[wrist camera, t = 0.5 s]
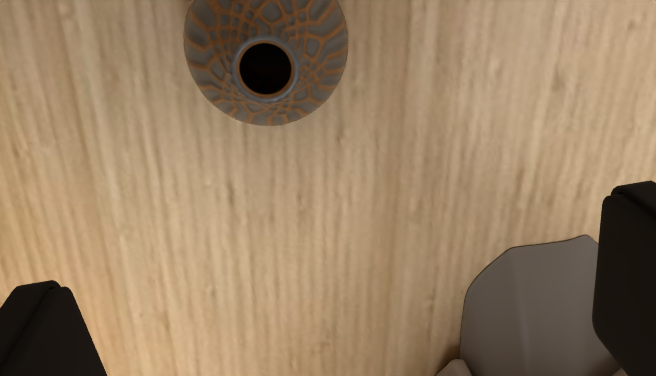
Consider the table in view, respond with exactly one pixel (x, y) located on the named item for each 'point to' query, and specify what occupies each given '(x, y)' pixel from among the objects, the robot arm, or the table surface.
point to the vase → (266, 56)
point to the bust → (534, 316)
